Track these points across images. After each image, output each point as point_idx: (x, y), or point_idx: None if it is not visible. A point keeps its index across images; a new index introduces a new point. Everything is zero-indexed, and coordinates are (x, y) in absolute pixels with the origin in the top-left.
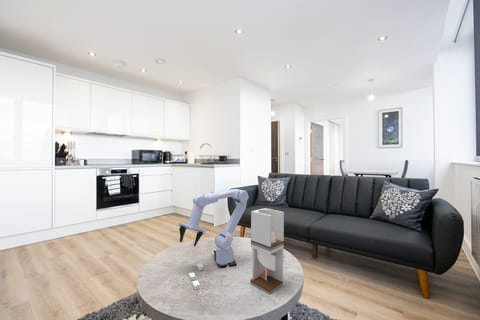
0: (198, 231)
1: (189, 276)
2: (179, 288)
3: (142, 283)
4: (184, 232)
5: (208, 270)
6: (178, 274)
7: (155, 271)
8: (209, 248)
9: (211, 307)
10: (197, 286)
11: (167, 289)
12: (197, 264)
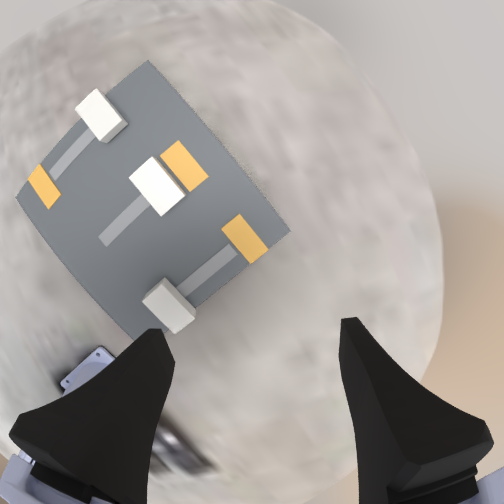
0: (96, 502)
1: (171, 177)
2: (197, 108)
3: (391, 117)
4: (361, 455)
5: None
6: None
7: (396, 227)
8: (244, 473)
9: (29, 60)
10: (86, 100)
11: (253, 86)
12: (187, 314)
